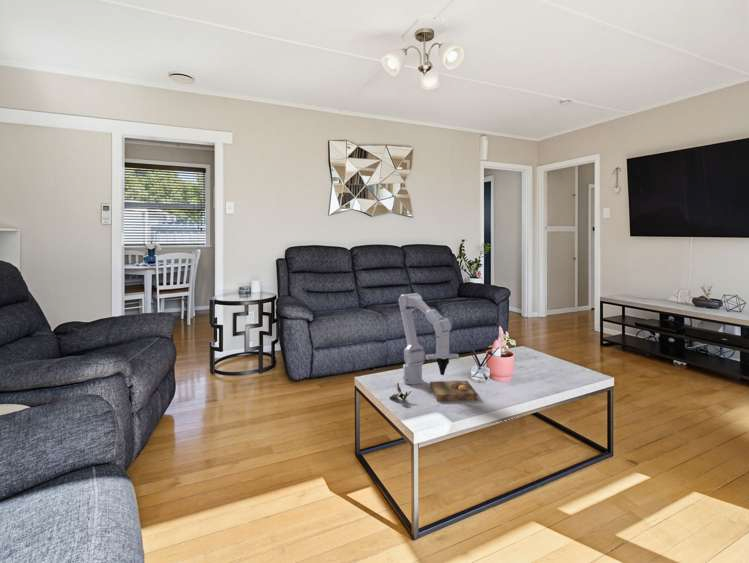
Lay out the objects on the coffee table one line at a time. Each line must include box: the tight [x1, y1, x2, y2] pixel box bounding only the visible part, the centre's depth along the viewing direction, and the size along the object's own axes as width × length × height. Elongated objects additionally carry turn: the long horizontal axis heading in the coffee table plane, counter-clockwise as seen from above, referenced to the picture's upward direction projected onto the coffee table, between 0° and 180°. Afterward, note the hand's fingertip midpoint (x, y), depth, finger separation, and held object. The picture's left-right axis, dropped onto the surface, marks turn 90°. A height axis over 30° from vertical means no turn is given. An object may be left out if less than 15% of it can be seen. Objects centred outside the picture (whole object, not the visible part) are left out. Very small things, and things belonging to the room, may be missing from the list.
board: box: [429, 380, 478, 402], centre depth 185 cm, size 18×16×3 cm
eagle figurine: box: [389, 382, 412, 403], centre depth 179 cm, size 8×7×9 cm
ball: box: [458, 385, 467, 390], centre depth 185 cm, size 4×4×4 cm
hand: (442, 374), depth 184 cm, fingers closed
